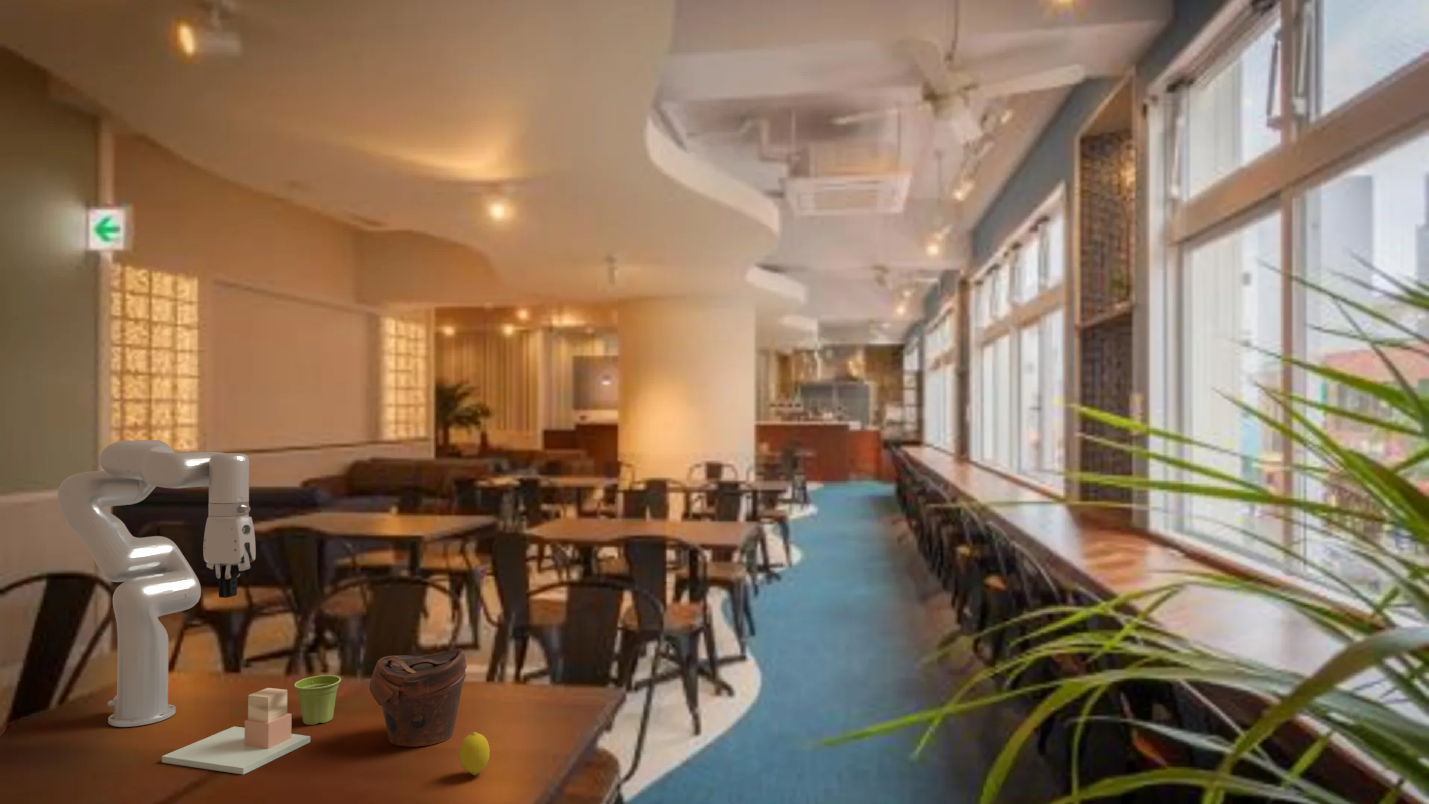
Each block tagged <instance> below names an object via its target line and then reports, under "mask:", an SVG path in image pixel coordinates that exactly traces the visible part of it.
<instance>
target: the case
mask: <svg viewBox="0 0 1429 804" xmlns="http://www.w3.org/2000/svg"><path fill="white" fill-rule="evenodd" d="M467 667H468V666H467V661H466V655H465V651H464V650H463V648H460V647H459V648H456V649H453V650H448V651H443V652H439V653H435V654H428V655H423V656H421V655H406V654H405V655H402V654H401V655H400V654H399V655H387V656H382V657H381V658H379V659H378V660H377V662H376V664H375V666H374V669H373V671H372V675H371V677H370V681H369V691H370V694H371V696H372V697H373V700H375V701H376V703H377V704H378V706H381V709H382V713H383V718H384V722H385V723H384V724H385V727H386V732H387V735H388V741H389V742H390V743H391V744H392V745H395V746H399V747H406V748H407V747H408V748H415V747H416V748H417V747H426V746H431V745H436V744H440V743H442V742H445V741H447V740H449V739H450V738H451V737H452V736H453V734H454V731H455V728H456V727H455V726H456V721H457V716H458V711H459V705H460V701H461V697H462V696H461V694H462V690H463V686H464V685H463V684H464V682H465V679H466V676H467V672H466V670H467Z"/></svg>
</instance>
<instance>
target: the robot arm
mask: <svg viewBox="0 0 1429 804" xmlns="http://www.w3.org/2000/svg"><path fill="white" fill-rule="evenodd" d="M99 465H100V466H101V468H102V470H93V471H83V472H79V473H75V474H72V475H70V476H68V477H66V478H65V479H63V480H62V482H61V483H60V484H59V487H58V490H57V505H58V509H59V512H60V514H61V516H62V518H63V519H64V521H65V523H66V524H67V525H68V527H69V528H71V530H72V531H73V532H74V533H75V534H76V535H77V536H78V537H79V539H81V541H82V542H83V544H84V545H85V547H86V549H87V551H88V553H89V554H90V555H91V557H92V559H93V560H94V562H95V564H96V566H97V568H98V569H99V570H100V572H101V573H102V575H103V576H104V578H105V579H106V580H108V581H110V582H112V583H120V584H119V585H118V586H117V587H116V588H115V590H114V593H113V595H112V606H113V607H112V608H113V612H114V617H115V621H116V623H115V624H116V631H117V665H116V666H117V671H116V672H117V674H116V676H117V679H116V695H115V696H114V697H113V700H112V699H111V700H109V701H108V702H107V707H109V708H114V709H113V710H114V711H113V713H112V714H110V715H109V716H108V718H107V719H108V720H107V723H108V725H110V726H112V727H117V728H118V727H119V728H128V727H129V728H131V727H140V726H146V725H151V724H155V723H159V722H161V721H164V720H167V719H168V718H169V719H170V718H171V717H172V716H174V715H175V714H176V713H177V711H176V710H177V708H176V706H175V705H173V704H170V703H169V635H168V631H167V629H166V627H164V625H163V624H162V622H161V621H160V620H159V617H162V616H166V615H170V614H174V613H180V612H183V611H186V610H189V609H191V608H193V607H194V606H195V605H197V603H199V601H200V598H201V597H202V595H201V594H202V588H201V587H202V586H201V583H200V581H199V578H198V576H197V575H196V573H195V571H194V570H193V568H192V566H191V565H190V563H189V562H188V560H187V559H186V557H185V556H184V555H183V552H182V551H181V549H180V548H179V547H178V545H177V544H176V543H175V542H174V541H173V540H171V539H170V538H168V537H166V536H161V535H154V536H145V537H136V536H133V535H132V534H131V532H130V531H129V529H128V528H127V526H126V525H125V523H124V522H123V521H122V520H121V519H120V518H119V517H117V516H116V515H115V514H112V513H111V512H108V511H107V510H105V509H103V508H105V507H106V508H107V507H116V506H117V507H118V506H127V505H129V506H130V505H135V504H138V503H140V502H142V501H144V500H145V499H146V498H147V497H148V496H149V495H150V494H151V493H152V492H153V491H154V490H155V488H156V487H159V488H164V489H165V488H166V489H184V488H186V489H187V488H197V487H198V488H200V487H208V517H207V518H206V522H205V527H204V536H203V560H204V562H205V563H206V568H209V570H213V571H214V572H215V577H216V578H217V580H218V598H221V599H222V598H224V599H228V598H231V597H235V596H237V594H238V578H239V577H240V576H241V573H242V571H246V570H249V569H251V563H252V562H254V561H255V560H256V555H257V553H256V551H257V550H256V548H257V547H256V535H255V528H254V527H255V526H254V522H253V518H252V516H249V515H250V514H249V513H250V511H251V506H250V459H249V456H248V455H247V454H246V453H238V452H236V453H235V452H230V453H229V452H227V453H226V452H221V451H194V452H193V451H191V452H189V451H188V452H175V451H174V450H173V448H172V447H171V446H170V445H169V444H168V443H166V442H165V441H162V440H158V439H157V440H156V439H145V440H143V439H140V440H120V441H116V442H115V441H114V442H112V443H110V444H109V445H107V446H106V447H104V449H103V450H102V451H101V453H100V455H99Z"/></svg>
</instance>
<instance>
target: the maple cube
mask: <svg viewBox="0 0 1429 804" xmlns="http://www.w3.org/2000/svg"><path fill="white" fill-rule="evenodd" d="M247 696H248V698H247V702H248V703H247V705H248V707H247V719H248V720H252V721H260V722H270V721H273V720H275V719H277V718H280V717H282V716H284V715H287V713H288V689H283V688H274V687H273V688H272V687H266V688H264V689H261V690H259V691H255V692H253V693H251V694H248V695H247Z"/></svg>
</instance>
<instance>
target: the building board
mask: <svg viewBox="0 0 1429 804" xmlns="http://www.w3.org/2000/svg"><path fill="white" fill-rule="evenodd" d="M244 739H245V727H241V726H240V727H239V726H235V725H233V726H231V727H230V728H227V729H224V730H222V731H219V732H217V733H214V734H212V735H210V736H208V737H205V738H202V739H200V740H197V741H196V742H193V743H190V744H188V745H186V746H184V747H181V748H178V749H176V750H173V751H172V752H169V753H166V754H164V755H162V756H161V763H164V764H169V765H170V764H171V765H176V766H183V767H190V768H198V769H204V770H209V771H218V772H224V773H228V774H231V773H232V774H238V775H245V774H247V773H249V772H252V771H254V770H256V769H258V768H260V767H262V766H264V765H266V764H269V763H270V762H272V761H274V760H276V759H279V758H281V757H282V756H284V755H287V754H288V753H289V754H290V752H293V751H295V750H297V749H299V748H301V747H303V746H305V745H308V744H309V743H311V736H310V735H304V734H297V733H291V739H288V740H286V741H284V742H282V743H280V744H278V745H275V746H273V747H271V748H269V749H266V748H259V747H251V746H244Z"/></svg>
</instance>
